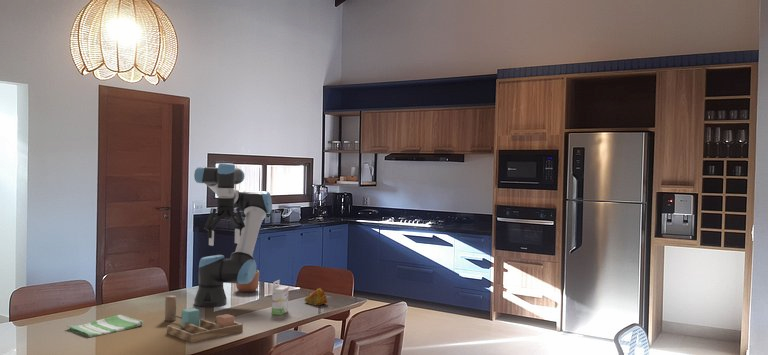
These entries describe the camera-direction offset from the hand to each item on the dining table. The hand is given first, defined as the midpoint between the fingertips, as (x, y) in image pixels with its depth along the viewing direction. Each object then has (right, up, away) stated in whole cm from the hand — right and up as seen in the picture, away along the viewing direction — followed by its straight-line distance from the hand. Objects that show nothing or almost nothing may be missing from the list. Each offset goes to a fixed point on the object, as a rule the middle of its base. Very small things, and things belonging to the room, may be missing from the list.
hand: (224, 244), depth 265 cm
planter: (-2, -32, +53) cm, 61 cm away
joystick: (-14, -31, -18) cm, 39 cm away
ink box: (+24, -33, +6) cm, 41 cm away
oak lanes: (+1, -32, -30) cm, 44 cm away
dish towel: (-41, -31, -28) cm, 58 cm away
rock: (+39, -33, +28) cm, 58 cm away
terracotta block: (+8, -32, -27) cm, 42 cm away
